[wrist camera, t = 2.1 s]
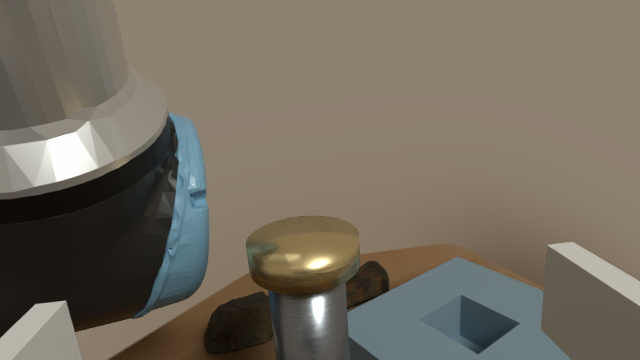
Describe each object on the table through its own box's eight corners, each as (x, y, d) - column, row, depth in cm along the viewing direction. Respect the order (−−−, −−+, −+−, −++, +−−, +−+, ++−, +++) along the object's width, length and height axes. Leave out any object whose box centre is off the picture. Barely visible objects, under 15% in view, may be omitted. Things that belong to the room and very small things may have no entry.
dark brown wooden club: (372, 286, 47) (370, 248, 46) (392, 303, 43) (391, 263, 42) (203, 340, 40) (196, 298, 39) (211, 366, 36) (203, 321, 35)
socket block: (333, 373, 34) (329, 321, 33) (456, 300, 43) (457, 256, 41) (485, 515, 23) (489, 445, 22) (610, 377, 32) (618, 321, 30)
